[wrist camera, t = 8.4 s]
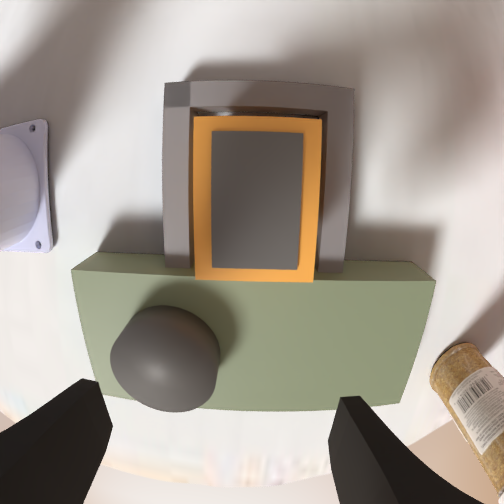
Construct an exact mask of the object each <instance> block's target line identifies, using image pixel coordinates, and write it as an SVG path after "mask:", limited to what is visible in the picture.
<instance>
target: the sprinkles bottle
mask: <svg viewBox="0 0 504 504" xmlns="http://www.w3.org/2000/svg"><path fill="white" fill-rule="evenodd" d="M430 385H431V387H432V389H433V390H434V391H435V392H436V393H438V395H439V396H440V398H441V399H442V401H443V403H444V404H445V406H446V407H447V409H448V411H449V414H450V416H451V417H452V419H453V421H454V422H455V424H456V425H457V427H458V429H459V430H460V432H461V433H462V435H463V437H464V438H465V440H466V441H467V443H469V444H470V446H471V448H472V450H473V451H474V453H475V455H476V456H477V458H478V460H479V461H480V463H481V464H482V467H483V468H484V470H485V472H486V473H487V474H488V476H489V478H490V480H491V481H492V484H493V485H494V487H495V488H496V490H497V496H498V497H500V498H499V501H498V502H499V504H504V377H503V376H502V375H501V374H500V373H499V372H498V371H497V370H496V369H495V368H493V367H492V366H491V365H490V363H489V362H488V361H487V360H486V359H485V358H484V357H483V356H482V355H481V354H480V353H479V351H478V349H477V347H476V346H475V345H473V344H472V343H461V344H459V345H456V346H453V347H452V348H450V349H449V350H448V351H447V352H446V353H444V354H443V355H442V356H441V357H440V359H439V360H438V361H437V362H436V364H435V365H434V367H433V369H432V372H431V375H430Z"/></svg>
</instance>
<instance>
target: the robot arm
mask: <svg viewBox="0 0 504 504" xmlns="http://www.w3.org/2000/svg"><path fill="white" fill-rule="evenodd" d="M34 125H35V131H34V132H33V127H34ZM47 139H48V123H47V121H46V120H44V119H37V120H32V121H28V122H24V123H20V124H16V125H12V126H8V127H5V128H1V129H0V251H14V252H36V253H48V252H50V251H51V250H52V249H53V237H52V228H51V218H50V206H49V190H48V163H47ZM39 241H40V243H41V246H40V245H39ZM112 428H113V425H112V422H111V419H110V416H109V413H108V410H107V408H106V405H105V401H104V398H103V395H102V392H101V389H100V386H99V382H97V381H92V380H87V379H80V380H79V381H77V382H76V383H74V384H73V385H71V386H70V387H69V388H67V389H66V390H64V391H63V392H62V393H60V394H59V395H57V396H56V397H55V398H53V399H52V400H50V401H49V402H48V403H46V404H45V405H43V406H42V407H40V408H39V409H38V410H36V411H35V412H33V413H32V414H30V415H29V416H27V417H25V418H24V419H22V420H21V421H19V422H17V423H16V424H14V425H13V426H11V427H9V428H8V429H6V430H4V431H2V432H1V433H0V504H83V503H84V500H85V498H86V495H87V493H88V491H89V489H90V486H91V484H92V481H93V479H94V477H95V475H96V472H97V470H98V468H99V466H100V464H101V461H102V459H103V457H104V454H105V452H106V449H107V445H108V442H109V439H110V435H111V431H112ZM328 445H329V454H330V463H331V470H332V474H333V478H334V482H335V486H336V490H337V494H338V498H339V502H340V504H484V503H482V502H480V501H478V500H476V499H474V498H473V497H471V496H469V495H467V494H465V493H464V492H462V491H460V490H459V489H457V488H456V487H454V486H452V485H451V484H450V483H449V482H447V481H446V480H444V479H443V478H442V477H440V476H439V475H438V474H436V473H435V472H434V471H432V470H431V469H430V468H429V467H428V466H427V465H425V464H424V463H423V462H422V461H421V460H420V459H419V458H418V457H417V456H415V455H414V454H413V453H412V452H411V451H410V450H409V449H408V448H407V447H406V446H405V445H404V444H403V443H402V442H401V441H400V440H399V439H398V438H397V437H396V436H395V435H394V433H393V432H392V431H391V430H390V429H389V428H388V427H387V426H386V425H385V424H384V422H383V421H382V420H381V419H380V418H379V417H378V416H377V415H376V413H375V412H374V411H373V410H372V409H371V408H370V406H369V405H368V404H367V403H366V402H365V401H364V400H363V398H362V397H361V396H347V397H340V399H339V403H338V407H337V411H336V414H335V418H334V422H333V425H332V429H331V432H330V435H329V439H328Z"/></svg>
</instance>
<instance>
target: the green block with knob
mask: <svg viewBox="0 0 504 504" xmlns="http://www.w3.org/2000/svg"><path fill="white" fill-rule="evenodd" d="M198 112H255V113H280V114H297V115H310V116H319V119H322V142H321V171H320V192H319V210H318V226H317V240H316V253H315V265H314V277H313V282H256V281H220V280H195V255H194V217H193V130H194V117H197V116H198ZM353 133H354V89H352V88H344V87H337V86H328V85H319V84H308V83H296V82H280V81H256V80H211V81H186V82H171V83H165V88H164V109H163V146H162V191H163V229H164V252H165V255H164V254H136V253H108V252H96V253H95V254H93V255H92V256H90V257H89V258H87V259H86V260H84V261H83V262H81V263H80V264H78V265H77V266H76V267H74V268H73V269H71V274H72V280H73V286H74V291H75V297H76V302H77V307H78V312H79V317H80V322H81V326H82V331H83V335H84V339H85V343H86V347H87V351H88V355H89V359H90V362H91V366H92V369H93V373H94V376H95V380H96V381H97V382H99V386H100V389H101V392H102V394H103V395H108V396H113V397H119V398H125V399H130V400H137V401H139V402H140V403H142V404H144V405H146V406H148V407H151V408H153V409H157V410H160V411H166V412H186V411H190V410H193V409H196V408H204V409H218V410H236V411H319V410H337V407H338V403H339V399H340V397H347V396H361V397H362V398H363V400H364V401H365V402H366V403H367V404H368V405H369V406H370V407H372V406H381V405H389V404H396V403H399V402H400V400H401V397H402V395H403V392H404V389H405V387H406V384H407V381H408V378H409V376H410V373H411V370H412V367H413V364H414V361H415V358H416V355H417V352H418V348H419V345H420V342H421V338H422V335H423V332H424V328H425V324H426V321H427V317H428V313H429V309H430V305H431V301H432V297H433V293H434V289H435V284H436V280H434V279H433V278H432V277H431V276H429V275H428V274H427V273H425V272H424V271H423V270H422V269H420V268H419V267H418V266H416V265H415V264H414V263H413V262H400V261H362V260H344V256H345V247H346V237H347V227H348V216H349V205H350V191H351V176H352V158H353Z"/></svg>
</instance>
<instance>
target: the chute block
mask: <svg viewBox="0 0 504 504" xmlns="http://www.w3.org/2000/svg"><path fill="white" fill-rule="evenodd" d="M321 142H322V119H309V118H293V117H271V116H197V117H194V130H193V217H194V255H195V280H220V281H256V282H313V277H314V265H315V253H316V240H317V226H318V210H319V192H320V171H321Z"/></svg>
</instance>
